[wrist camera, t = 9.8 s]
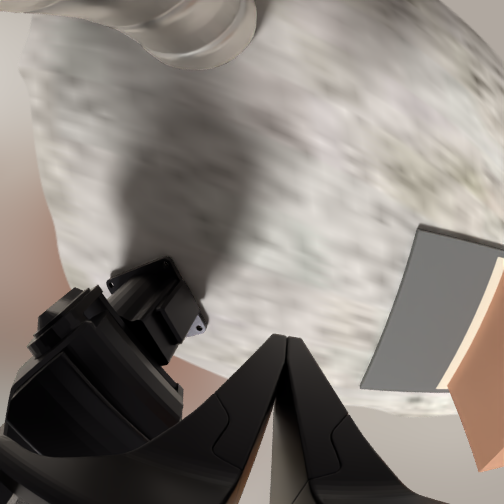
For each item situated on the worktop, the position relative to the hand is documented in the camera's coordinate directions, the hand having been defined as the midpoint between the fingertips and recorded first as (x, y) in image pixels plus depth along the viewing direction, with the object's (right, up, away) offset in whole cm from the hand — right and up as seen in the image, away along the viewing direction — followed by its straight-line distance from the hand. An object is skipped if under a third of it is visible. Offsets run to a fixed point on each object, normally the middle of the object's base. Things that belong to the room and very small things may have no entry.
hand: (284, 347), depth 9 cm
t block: (+24, -5, +11) cm, 27 cm away
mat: (+21, -4, +11) cm, 24 cm away
